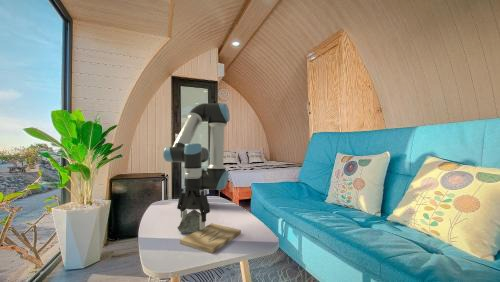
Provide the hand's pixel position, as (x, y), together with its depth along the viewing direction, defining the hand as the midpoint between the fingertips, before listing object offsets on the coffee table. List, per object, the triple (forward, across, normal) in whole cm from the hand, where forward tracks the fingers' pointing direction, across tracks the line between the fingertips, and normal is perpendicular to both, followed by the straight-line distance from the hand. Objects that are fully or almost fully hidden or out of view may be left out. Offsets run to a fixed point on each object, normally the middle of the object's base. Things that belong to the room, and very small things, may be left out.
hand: (193, 226), depth 98 cm
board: (+2, +12, -2) cm, 13 cm away
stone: (+2, -1, 0) cm, 2 cm away
